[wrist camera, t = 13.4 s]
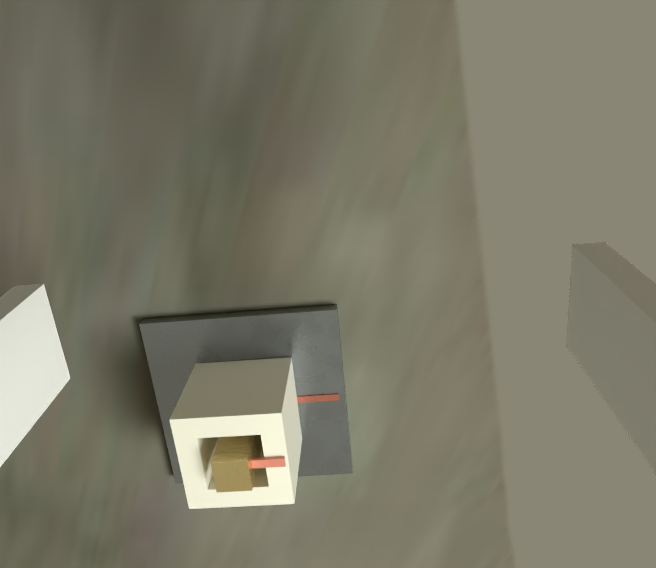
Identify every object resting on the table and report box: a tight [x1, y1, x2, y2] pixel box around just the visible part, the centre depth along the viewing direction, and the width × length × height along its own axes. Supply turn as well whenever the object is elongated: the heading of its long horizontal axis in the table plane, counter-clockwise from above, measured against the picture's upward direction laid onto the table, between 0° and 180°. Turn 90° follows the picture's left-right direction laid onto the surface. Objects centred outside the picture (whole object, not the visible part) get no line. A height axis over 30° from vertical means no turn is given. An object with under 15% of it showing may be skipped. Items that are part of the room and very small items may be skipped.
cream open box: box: [169, 357, 302, 509], centre depth 49 cm, size 8×8×8 cm
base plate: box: [139, 305, 352, 493], centre depth 49 cm, size 16×16×10 cm
